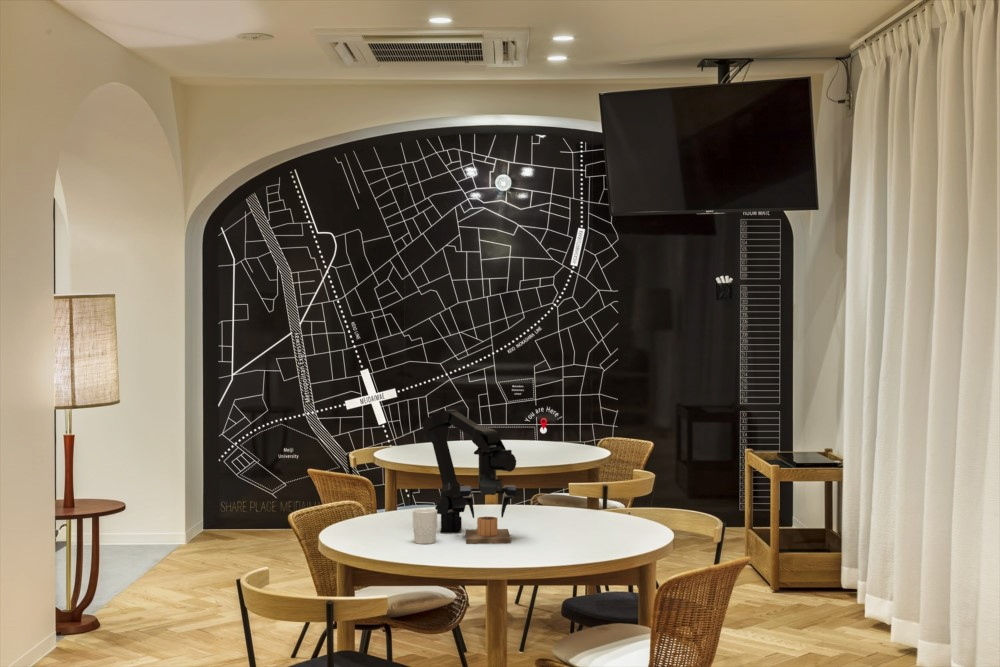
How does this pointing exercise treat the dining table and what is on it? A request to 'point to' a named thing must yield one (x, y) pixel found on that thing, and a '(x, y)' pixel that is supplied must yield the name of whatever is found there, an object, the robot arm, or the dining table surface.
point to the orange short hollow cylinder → (487, 526)
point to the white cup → (425, 525)
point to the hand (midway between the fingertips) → (487, 517)
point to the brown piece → (487, 537)
